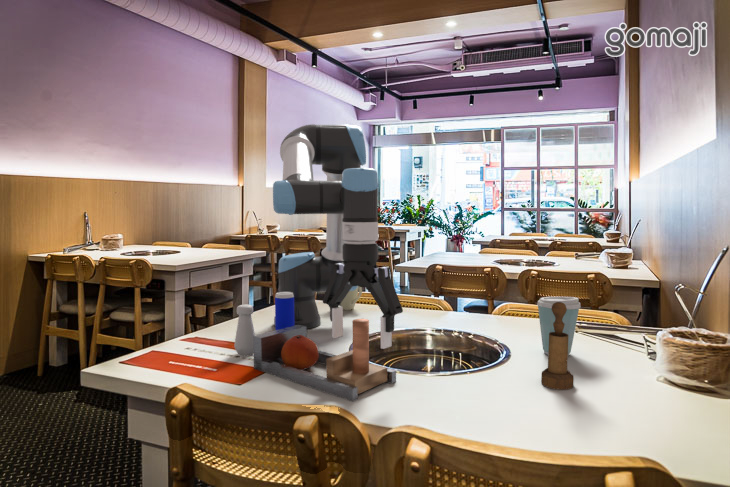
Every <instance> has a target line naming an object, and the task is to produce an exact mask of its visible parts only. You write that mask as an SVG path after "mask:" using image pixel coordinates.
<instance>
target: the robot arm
mask: <svg viewBox="0 0 730 487" xmlns="http://www.w3.org/2000/svg"><path fill="white" fill-rule="evenodd" d="M364 135H365V134H364V133H363V129H362V128H361V127H360V126H358V125H354V124H353V125H351V124H314V123H310V124H306V125H302V126H300V127H298V128H297V127H296V128H295V129H293V130H292V131H291V132H289V133H288V134H287V135H286V136H284V138H283V140H282V141H281V144H280V148H279V154H280V158H281V161H282V162H283V163H282V180H276V181H273V184H272V204H273V211H274V212H275V213H276V214H278V215H279V214H280V215H290V216H292V215H321V214H322V215H326V230H325V231H326V236H325V237H326V238H325V239H326V246H325V247H324V248H323V249H322V250H321V256H316V254H315V253H314V252H313V251H307V252H306V251H305V252H298V253H291V254H287V255H283V256H282V257H281V258H280V259H279V260H278V270H277V273H278V292H292V293H293V295H294V326H295V325H302V326H306V328H307V330H308V329H312V328H316V327H318V326H320V325H321V323H322V322H321V314H320V313H319V309H318V306H317V303H316V293H324V296H323V298H322V303H323V305H324V304H325V305H327V306H328V307H329V320H330V322H331V338H334V339H337V338H340V337H343V336H344V320H343V319H344V318H343V317H344V314H343V313H344V312H343V311H344V310H343V307H340V304H341V302H342V301H343V299H344V298H345V297H346V295H347V294H348V292H349V291H354V290H356V289H357V287H358V286H359V287H362V288H365V289H366V291H368V292H369V294H370V295H371V297H372V298H373V300H374V301H375V303H376V305H377V306H378V308H379V309H380V312H381V313H382V315H380V349H381V350H382V349H383V350H384V349H388V348H390V347H392V345H393V344H392V341H393V340H392V337H393V336H392V333H393V332H394V331H395V316H396V315H399V314H402V313H403V312H404V310H403V306H402V303H401V301H400V298H399V297H398V294H397V291H396V288H395V286H394V283H393V281H392V278H391V269H390V267H389V266H382V267H378V265H377V263H378V261H379V260H378V259H379V245H378V243H376V242H377V241H379V221H378V220H379V217H378V216H379V215H378V214H379V213H378V211H379V208H378V206H379V205H378V204H379V203H378V202H379V184H380V183H379V182H378V181H379V180H378V179H379V178H378V177H379V176H378V171H377V170H376V169H375V168H371V167H363V166H365V165H366V164H367V150H366V141H365V136H364ZM313 165H316V166H321V171H322V172H323V173H324V174H325V175H326V180H315V179H314V170H313ZM361 166H362V167H361ZM359 287H358V288H359ZM273 326H274V327H275V316H274V318H273Z"/></svg>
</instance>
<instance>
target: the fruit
mask: <svg viewBox="0 0 730 487" xmlns="http://www.w3.org/2000/svg"><path fill="white" fill-rule="evenodd" d="M318 351H319V349H318V346H317V344H316V342H314V341H313V340H312V339H310V338H309V337H304V336H302V335H297V336H294V337H292V338H291V339H289V340H288V341H286V342H285V344H284V345H283V348H282V351H281V357H282V360H283V362H284V365H286V366H290V367H293V368H296V369H300V370H303V371H305V370H306V369H309V368H311V367H313V366H314V365H315V364H316V363H317V360H318V357H319V354H318Z"/></svg>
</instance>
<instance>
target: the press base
mask: <svg viewBox="0 0 730 487" xmlns="http://www.w3.org/2000/svg"><path fill="white" fill-rule="evenodd" d="M307 330H308V329H307V328H306V326H302V325H295V326H291V327H287V328H283V329H279V330H276V329H275V330H273V331H269V332H264V333H260V334H255V336H253V351H254V353H253V370H256V371H260V372H263V373H265V374H268V375H271V376H275V377H277V378H281V379H284V380H287V381H290V382H292V383H295V384H299V385H303V386H306V387H309V388H310V389H314V390H316V391H320V392H323V393H326V394H329V395H332V396H335V397H339V398H342V399H345V400H347V401H350V402H354V401H357V400H358V397H359V396H358V387H356V386H353V385H349V384H346V383H343V382H339V381H336V380H333V379H330V378H327V376H323V375H319V374H317V373H312V372H309V371H307V370H300V369H296V368H293V367H290V366H286V365H285V364H284V362H283V360H282V357H281V351H282V348H283V345H284V344H285V342H286V341H288V340H289V339H291V338H292V337H294V336H297V335H302V336H304V337H307V336H308V335H307V332H308V331H307ZM307 338H308V337H307ZM318 354H319V357H318V360H317V362H316V363H317V364H321V365H324V366H327V363H326V359H328V358H331V357H334V356H337V355H338V354H333V353H329V352H325V351H321V350H318ZM386 368H387V381H386V382H385V383H389V384H394V383H396V382H397V370H395V369H391V368H388V367H386Z"/></svg>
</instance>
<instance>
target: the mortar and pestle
mask: <svg viewBox="0 0 730 487" xmlns="http://www.w3.org/2000/svg"><path fill="white" fill-rule="evenodd" d="M566 311H567V308H566V305H565V304H564V303H562V302H556V303H554V304H553V305H552V312H553V314H554V316H555V322H554V323H553V326H554V330H555V332H550V333H549V353H548V355H547V356H548V358H547V368H545V369H544V370H542V371H541V378H540V380H541V385H543V386H544V387H547V388H550V389H554V390H558V391H559V390H560V391H564V390H565V391H566V390H571V389H573V388H574V375H573V374H572V373H571V372H570V371H569V370H568V358H569V356H568V334H566V333H562V332H563V329H564V325H565V324H564V323H563V321H562V319H563V316H564V315H565V313H566Z"/></svg>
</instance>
